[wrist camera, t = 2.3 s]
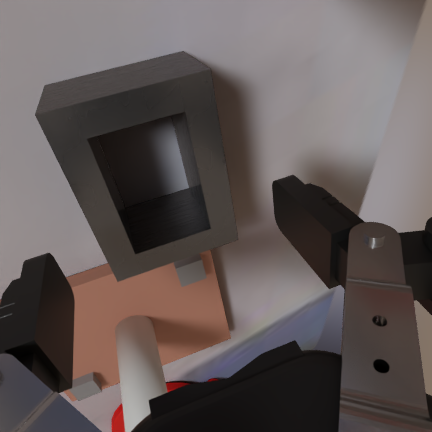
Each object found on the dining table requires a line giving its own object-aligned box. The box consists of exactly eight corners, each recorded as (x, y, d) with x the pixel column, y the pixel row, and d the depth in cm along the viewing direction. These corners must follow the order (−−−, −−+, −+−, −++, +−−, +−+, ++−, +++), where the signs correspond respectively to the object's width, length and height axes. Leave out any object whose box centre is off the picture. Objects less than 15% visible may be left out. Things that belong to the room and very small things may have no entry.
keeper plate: (-2, 300, 19) (-41, 457, 13) (203, 230, 21) (256, 337, 15) (72, 388, 25) (70, 524, 19) (226, 327, 27) (271, 433, 21)
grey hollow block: (44, 85, 14) (35, 114, 11) (183, 50, 15) (210, 68, 12) (111, 232, 19) (117, 282, 16) (213, 199, 20) (238, 239, 17)
